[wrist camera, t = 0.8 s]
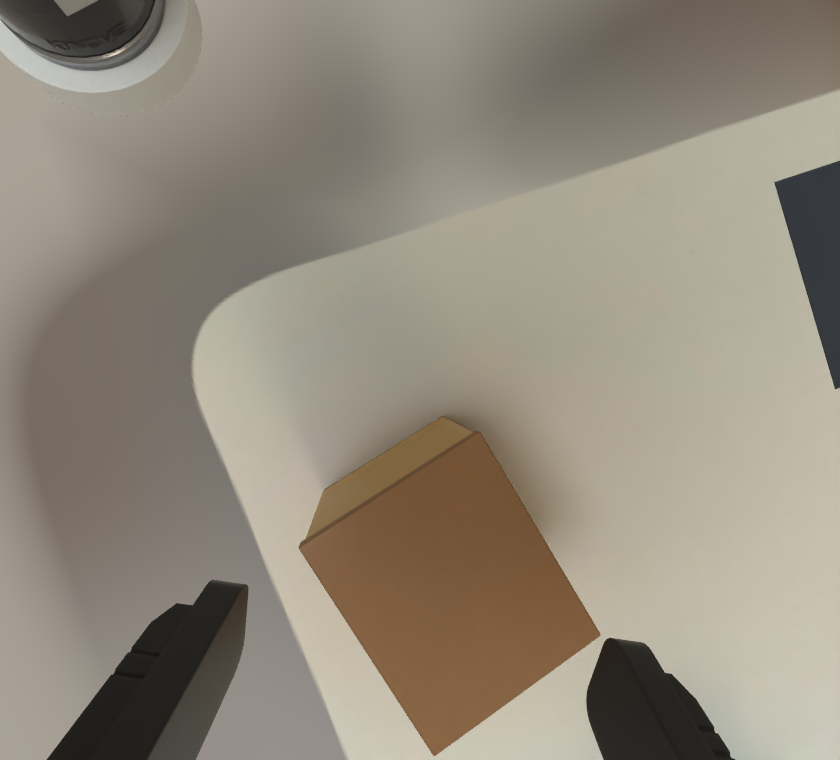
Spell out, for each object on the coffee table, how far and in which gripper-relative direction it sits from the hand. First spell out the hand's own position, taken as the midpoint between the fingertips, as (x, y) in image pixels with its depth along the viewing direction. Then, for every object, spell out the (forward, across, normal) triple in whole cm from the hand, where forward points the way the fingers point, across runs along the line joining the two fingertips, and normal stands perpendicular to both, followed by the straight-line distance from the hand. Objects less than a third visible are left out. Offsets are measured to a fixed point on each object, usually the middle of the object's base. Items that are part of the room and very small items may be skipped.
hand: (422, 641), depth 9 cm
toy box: (+17, -2, +8) cm, 19 cm away
